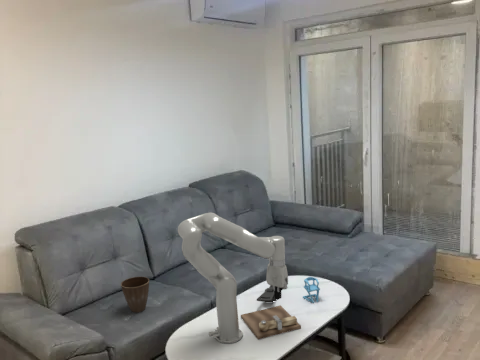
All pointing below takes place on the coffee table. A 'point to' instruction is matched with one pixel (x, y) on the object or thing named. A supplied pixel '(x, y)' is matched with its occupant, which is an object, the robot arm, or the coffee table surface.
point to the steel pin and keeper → (278, 322)
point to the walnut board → (266, 314)
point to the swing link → (273, 324)
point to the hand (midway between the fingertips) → (278, 298)
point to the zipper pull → (267, 295)
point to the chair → (311, 289)
